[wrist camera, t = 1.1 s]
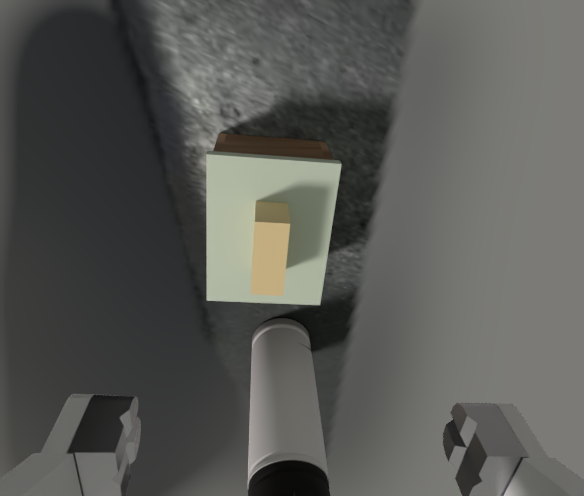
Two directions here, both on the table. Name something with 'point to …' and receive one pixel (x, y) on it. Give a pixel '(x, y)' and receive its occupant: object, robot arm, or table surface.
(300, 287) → the lid
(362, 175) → the table surface
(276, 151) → the walnut box
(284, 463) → the travel mug
